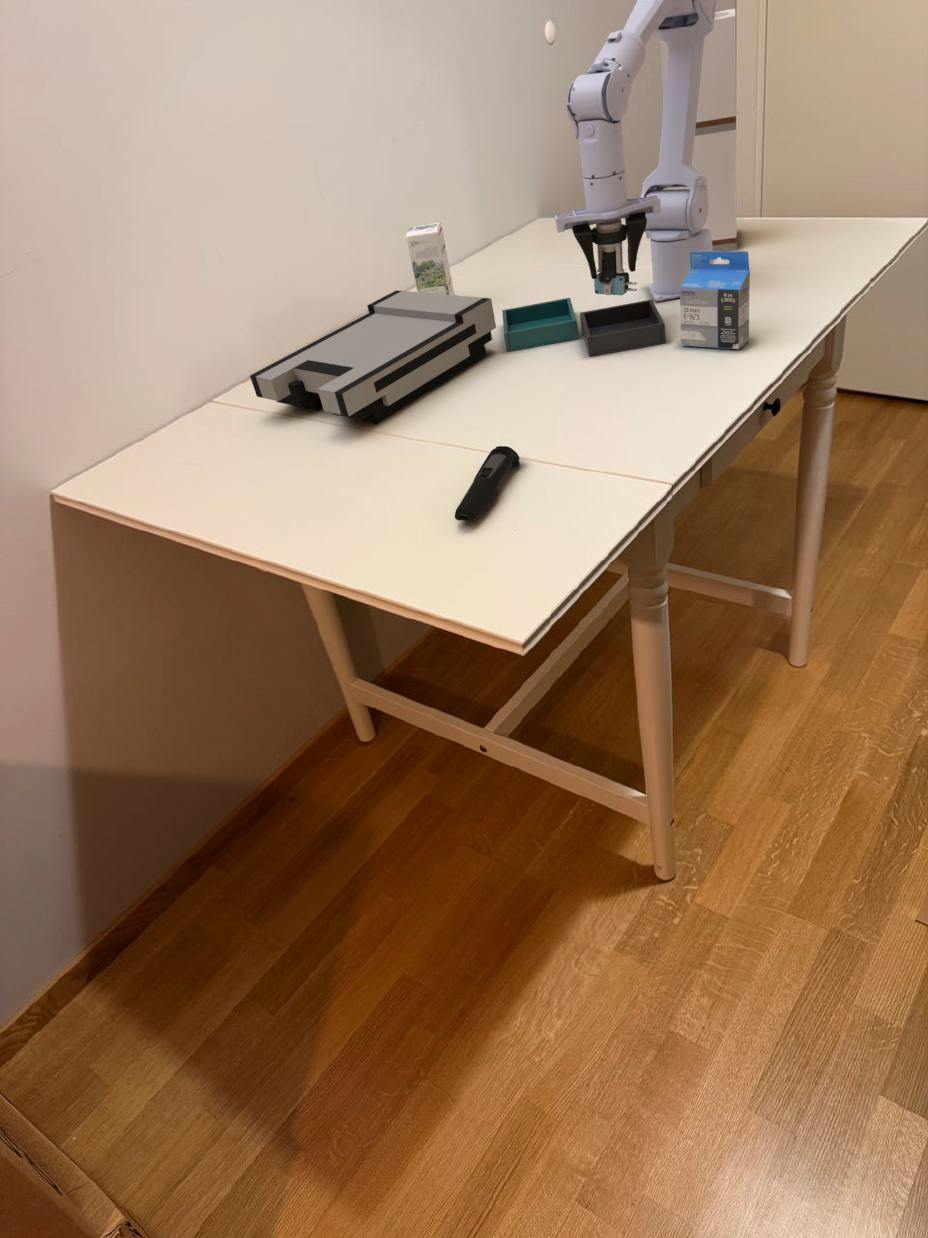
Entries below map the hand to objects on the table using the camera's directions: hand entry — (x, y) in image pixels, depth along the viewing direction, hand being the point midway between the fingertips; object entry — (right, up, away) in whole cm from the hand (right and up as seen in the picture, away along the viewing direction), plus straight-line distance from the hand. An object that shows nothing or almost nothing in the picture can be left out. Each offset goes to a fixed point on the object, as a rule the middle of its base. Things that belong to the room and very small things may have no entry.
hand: (612, 273), depth 132 cm
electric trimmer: (-19, -36, -26) cm, 48 cm away
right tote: (+2, -8, +5) cm, 10 cm away
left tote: (-9, -5, +13) cm, 17 cm away
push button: (+1, -2, +2) cm, 3 cm away
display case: (+22, +18, +33) cm, 44 cm away
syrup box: (-26, +5, +31) cm, 41 cm away
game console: (-34, -14, +8) cm, 38 cm away
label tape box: (+14, -11, -3) cm, 18 cm away
